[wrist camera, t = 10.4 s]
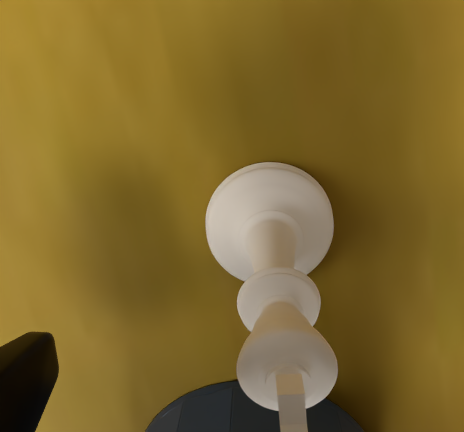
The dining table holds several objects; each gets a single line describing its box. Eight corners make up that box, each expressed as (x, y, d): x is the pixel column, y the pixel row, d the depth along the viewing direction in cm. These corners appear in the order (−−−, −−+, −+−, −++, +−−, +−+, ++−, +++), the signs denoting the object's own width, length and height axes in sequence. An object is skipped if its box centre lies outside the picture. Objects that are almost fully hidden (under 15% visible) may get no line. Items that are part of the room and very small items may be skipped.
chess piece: (331, 155, 14) (490, 321, 5) (333, 274, 16) (454, 569, 6) (197, 168, 14) (102, 347, 5) (214, 283, 16) (165, 574, 7)
